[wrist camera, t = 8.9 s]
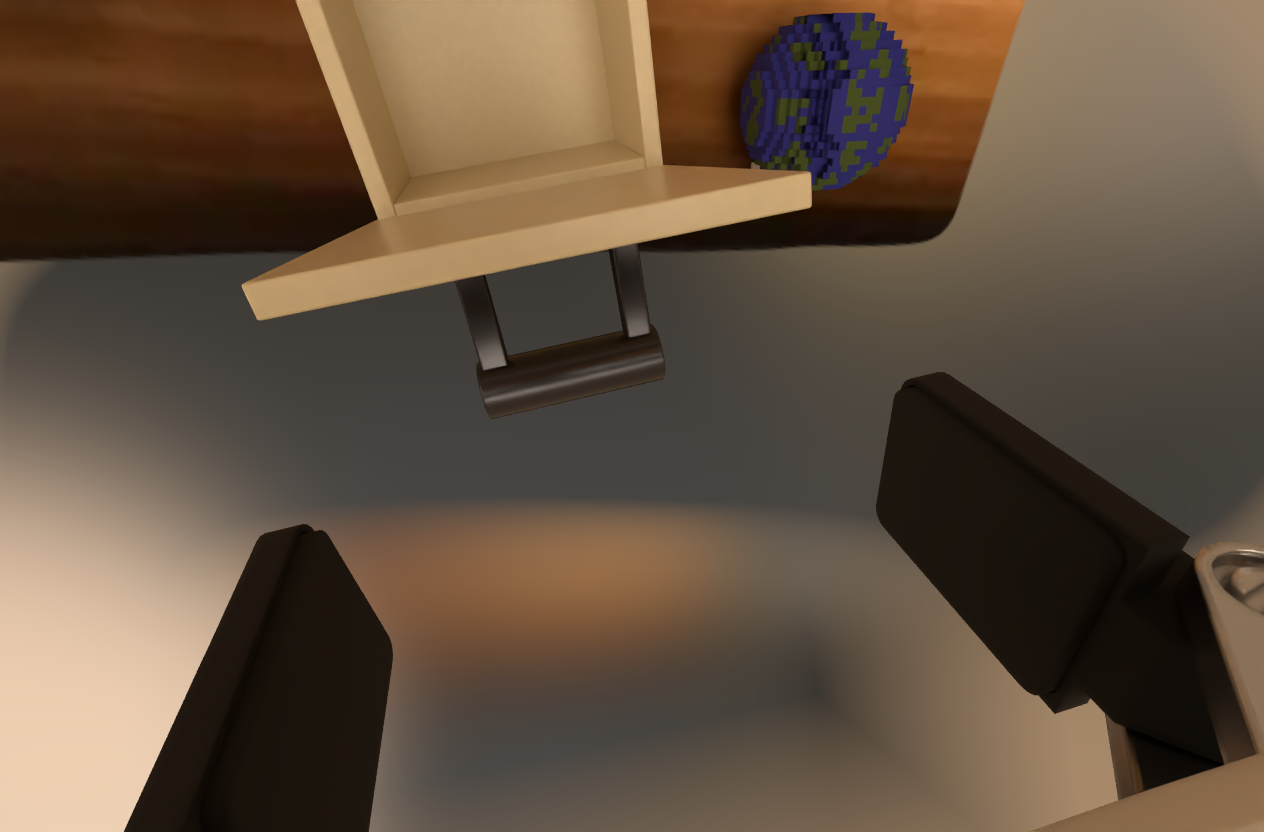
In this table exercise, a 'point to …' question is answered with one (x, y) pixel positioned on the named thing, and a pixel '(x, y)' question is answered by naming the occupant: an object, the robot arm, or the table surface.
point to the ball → (826, 98)
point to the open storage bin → (487, 94)
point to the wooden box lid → (530, 235)
